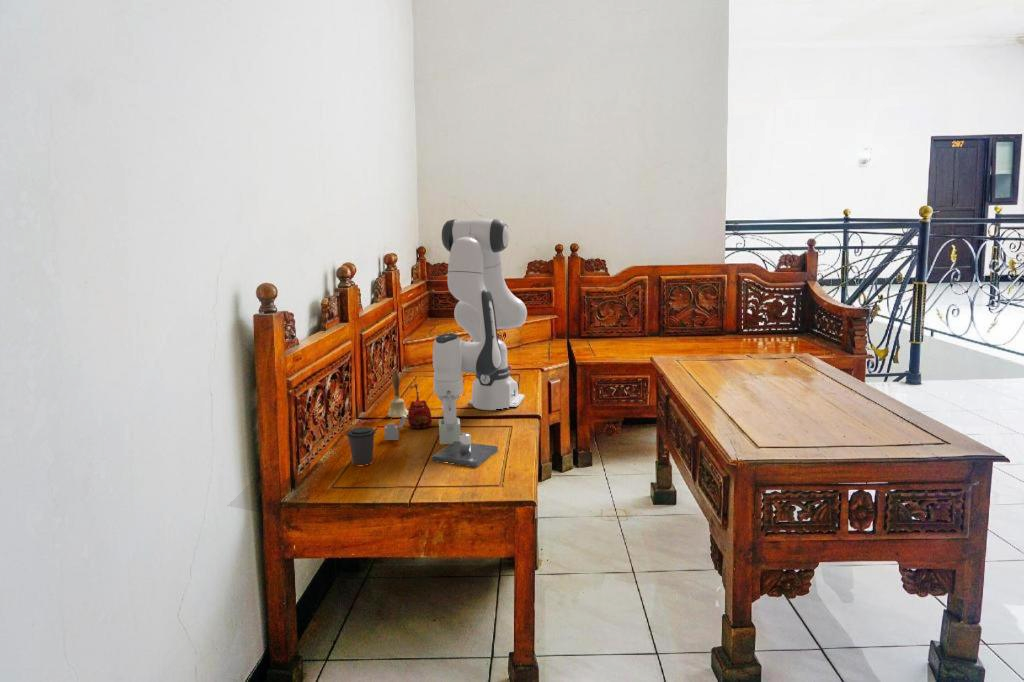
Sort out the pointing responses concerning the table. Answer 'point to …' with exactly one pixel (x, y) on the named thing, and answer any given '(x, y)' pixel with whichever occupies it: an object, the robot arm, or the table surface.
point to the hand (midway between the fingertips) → (449, 431)
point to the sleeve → (443, 432)
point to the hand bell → (397, 399)
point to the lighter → (394, 429)
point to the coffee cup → (361, 445)
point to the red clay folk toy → (419, 413)
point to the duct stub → (465, 452)
